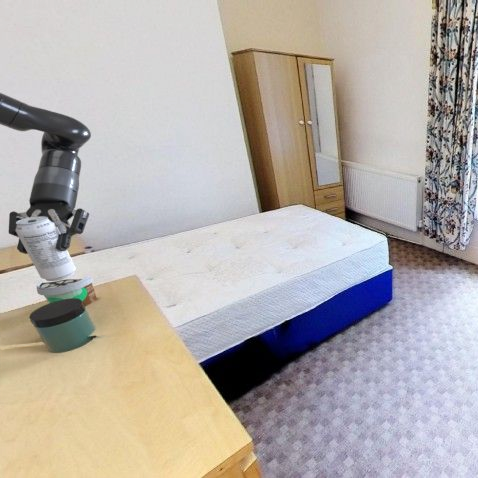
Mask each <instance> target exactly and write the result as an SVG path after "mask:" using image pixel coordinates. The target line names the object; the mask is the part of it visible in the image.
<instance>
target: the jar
mask: <svg viewBox="0 0 478 478" xmlns="http://www.w3.org/2000/svg"><path fill="white" fill-rule="evenodd" d="M33 327H34V330H36V332H37V334H38V335H39V337H40V339H41V341H42V342H43V344H44V345H45V347H46V349H47V350H48V351H49V352H50V353H54V354H59V353H60V354H61V353H65V352H70V351H73V350H75V349H77V348H81V347H83V346H84V345H87V344H88V343H90V342H91V341H93V339H95V338H96V336H97V335H92V334H93V333H94V332H95V330H96V326H95V324H94V322H93V320H92V317H91V316H90V314H89V311H88V310H87V307H85V310H84V311H83V312H82V313H81V314H80V315H78V316H77V317H75V318H73V319H71V320H68V321H66V322H63V323H60V324H57V325H53V326H47V327H37V326H34V325H33Z"/></svg>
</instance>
